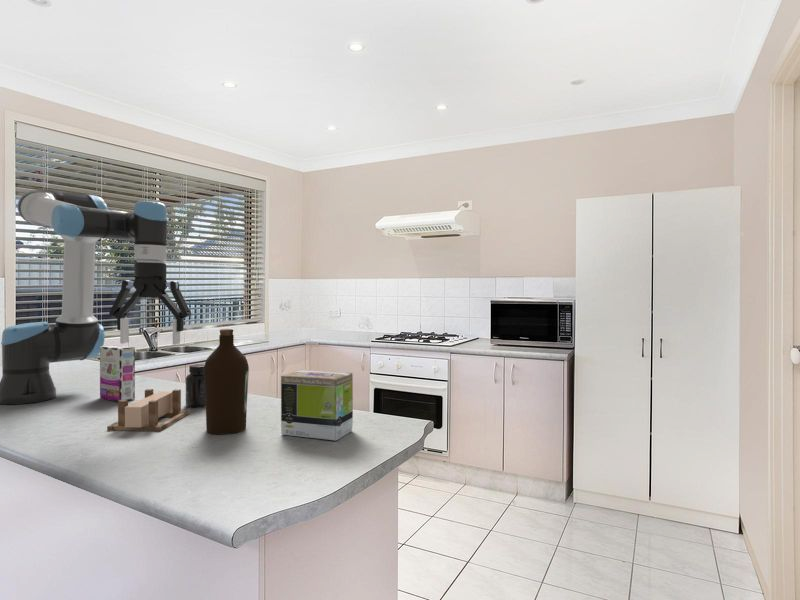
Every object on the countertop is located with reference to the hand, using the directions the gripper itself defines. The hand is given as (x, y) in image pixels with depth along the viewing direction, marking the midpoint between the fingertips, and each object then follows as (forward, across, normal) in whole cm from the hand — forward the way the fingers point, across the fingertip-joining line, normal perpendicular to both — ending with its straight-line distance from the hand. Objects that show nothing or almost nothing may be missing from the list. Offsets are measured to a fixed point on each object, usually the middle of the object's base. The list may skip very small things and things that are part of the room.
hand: (150, 343), depth 133 cm
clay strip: (+20, 0, 0) cm, 20 cm away
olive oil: (+20, +22, -6) cm, 31 cm away
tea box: (+20, +45, -8) cm, 50 cm away
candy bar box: (+21, -23, +25) cm, 40 cm away
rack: (+20, 0, 0) cm, 21 cm away
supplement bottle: (+21, +5, +18) cm, 28 cm away
